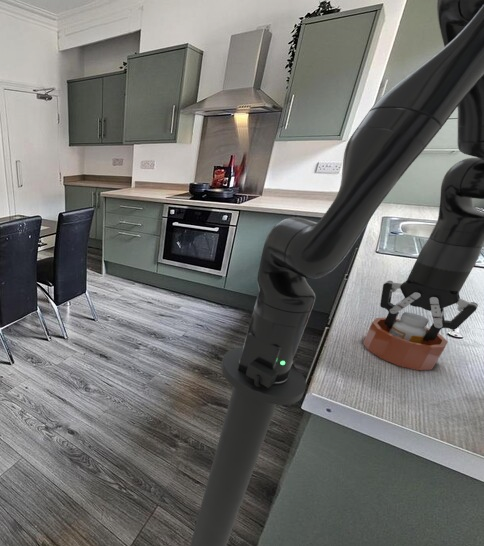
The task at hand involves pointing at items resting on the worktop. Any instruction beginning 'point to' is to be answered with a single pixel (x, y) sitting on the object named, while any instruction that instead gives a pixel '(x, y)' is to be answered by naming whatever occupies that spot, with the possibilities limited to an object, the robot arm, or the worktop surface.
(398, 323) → the supplement bottle
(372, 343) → the pot
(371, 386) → the worktop surface
